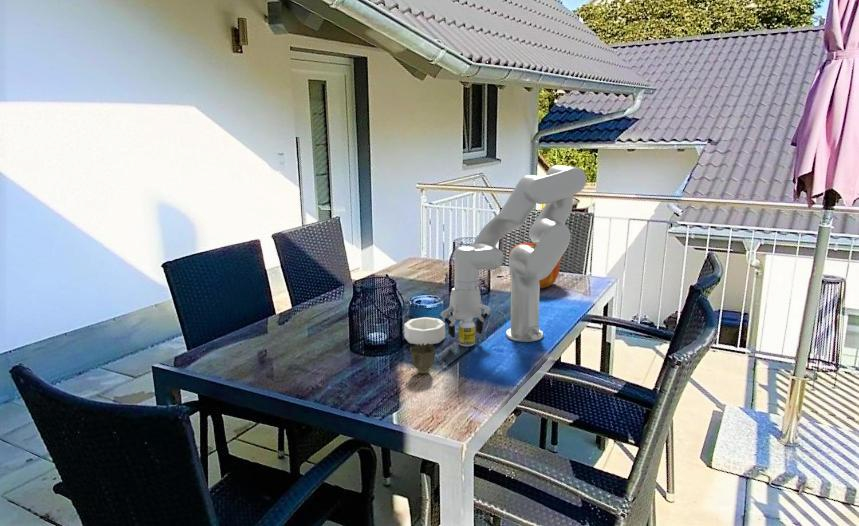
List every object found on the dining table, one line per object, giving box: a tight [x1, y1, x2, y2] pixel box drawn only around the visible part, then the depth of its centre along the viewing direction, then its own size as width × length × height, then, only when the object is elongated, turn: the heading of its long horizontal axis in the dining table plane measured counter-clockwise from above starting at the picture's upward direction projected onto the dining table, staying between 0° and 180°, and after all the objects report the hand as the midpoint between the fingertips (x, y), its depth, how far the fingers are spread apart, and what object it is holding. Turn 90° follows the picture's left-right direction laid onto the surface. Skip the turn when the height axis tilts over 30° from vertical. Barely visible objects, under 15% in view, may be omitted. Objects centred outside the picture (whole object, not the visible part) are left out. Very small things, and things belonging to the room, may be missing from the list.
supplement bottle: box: [458, 318, 476, 347], centre depth 196 cm, size 5×5×10 cm
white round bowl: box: [403, 316, 446, 346], centre depth 203 cm, size 13×13×5 cm
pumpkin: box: [508, 242, 563, 289], centre depth 260 cm, size 23×23×20 cm
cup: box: [409, 343, 436, 375], centre depth 174 cm, size 8×7×8 cm
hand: (465, 334), depth 196 cm, fingers open, 9 cm apart
